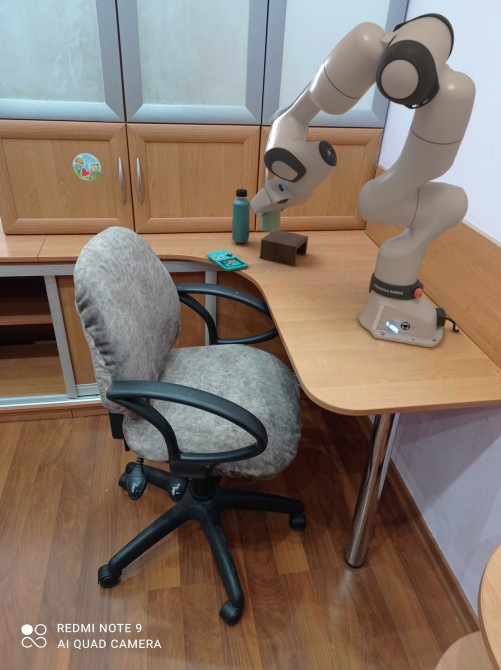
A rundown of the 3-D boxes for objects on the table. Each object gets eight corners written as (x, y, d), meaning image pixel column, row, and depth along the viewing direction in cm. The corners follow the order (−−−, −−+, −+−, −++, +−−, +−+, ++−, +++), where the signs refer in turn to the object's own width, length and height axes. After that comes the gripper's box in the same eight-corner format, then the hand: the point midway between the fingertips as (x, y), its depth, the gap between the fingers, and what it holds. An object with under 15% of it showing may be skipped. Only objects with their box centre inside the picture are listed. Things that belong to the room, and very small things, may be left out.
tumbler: (282, 227, 147) (284, 198, 143) (274, 233, 143) (276, 203, 138) (264, 224, 150) (266, 195, 145) (256, 229, 145) (257, 200, 140)
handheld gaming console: (226, 248, 171) (248, 264, 160) (226, 251, 171) (248, 267, 161) (205, 253, 167) (226, 268, 156) (205, 255, 167) (226, 271, 157)
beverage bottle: (248, 246, 177) (251, 192, 166) (231, 245, 176) (232, 191, 166) (249, 240, 182) (251, 187, 171) (231, 239, 182) (233, 186, 171)
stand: (306, 254, 173) (308, 236, 169) (293, 266, 163) (295, 246, 160) (273, 247, 177) (274, 229, 173) (259, 258, 168) (261, 239, 164)
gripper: (315, 172, 138) (289, 198, 150) (262, 181, 127) (238, 208, 139) (324, 192, 138) (298, 215, 149) (272, 202, 127) (247, 227, 138)
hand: (269, 212), depth 144 cm, fingers closed on tumbler, 6 cm apart
